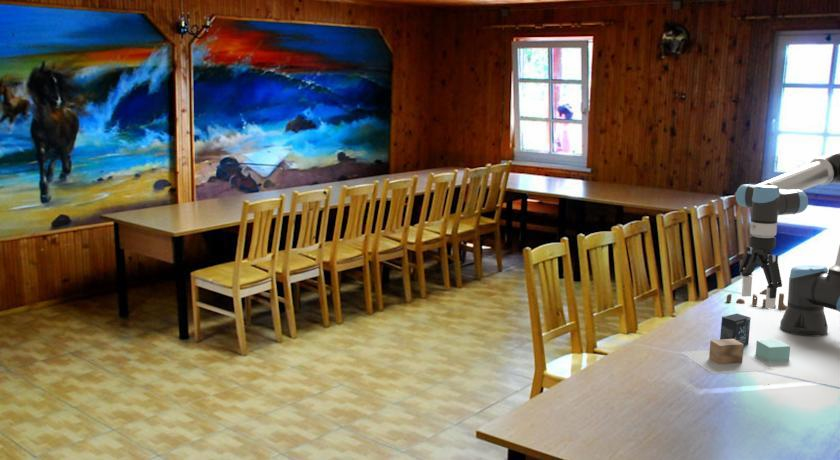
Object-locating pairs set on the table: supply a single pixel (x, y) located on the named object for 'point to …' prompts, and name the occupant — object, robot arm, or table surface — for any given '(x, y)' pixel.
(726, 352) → the base brick
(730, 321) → the box
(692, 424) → the table surface
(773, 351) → the teal brick
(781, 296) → the wooden blocks
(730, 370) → the board
